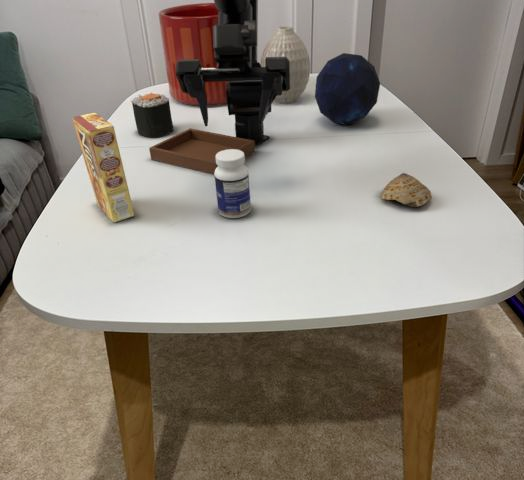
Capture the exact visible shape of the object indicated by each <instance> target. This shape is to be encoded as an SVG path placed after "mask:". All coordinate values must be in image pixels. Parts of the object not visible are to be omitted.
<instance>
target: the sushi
mask: <svg viewBox="0 0 524 480" xmlns="http://www.w3.org/2000/svg"><path fill="white" fill-rule="evenodd" d="M130 102H131V105H132V110H133V116H134V121H135V126H136V130H137V134H138V135H139V136H142V137H145V138H148V139H156V138H162V137H165V136H167V135H170V134H172V133H173V132H174V124H173V118H172V112H171V105H170V104H171V103H170V99H169V97H167V96H166V95H165V94H163V93H161V94H160V93H152V92H149V93H147V94H144V95H141V94H138V95H137V96H135V97H133V98H131V100H130Z"/></svg>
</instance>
